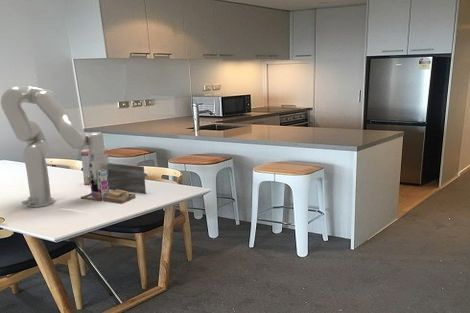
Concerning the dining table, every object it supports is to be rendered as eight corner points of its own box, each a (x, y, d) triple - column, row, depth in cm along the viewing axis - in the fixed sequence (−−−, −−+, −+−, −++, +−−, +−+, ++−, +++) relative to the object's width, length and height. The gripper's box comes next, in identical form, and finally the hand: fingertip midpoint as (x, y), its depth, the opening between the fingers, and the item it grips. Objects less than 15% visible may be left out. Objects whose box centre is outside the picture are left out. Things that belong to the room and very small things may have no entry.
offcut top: (118, 198, 203) (117, 194, 203) (107, 196, 207) (107, 192, 207) (127, 195, 208) (126, 191, 208) (116, 192, 212) (116, 189, 212)
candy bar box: (110, 200, 211) (107, 169, 208) (101, 202, 208) (98, 171, 204) (100, 195, 219) (97, 166, 215) (91, 197, 215) (88, 167, 212)
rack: (121, 206, 200) (118, 175, 197) (81, 200, 211) (77, 171, 208) (145, 195, 218) (143, 166, 214) (107, 190, 228) (105, 162, 225)
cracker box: (110, 182, 246) (107, 148, 241) (106, 185, 240) (103, 150, 236) (88, 182, 247) (85, 148, 243) (83, 184, 241) (80, 150, 237)
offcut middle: (119, 202, 203) (119, 198, 203) (106, 200, 207) (106, 196, 207) (129, 198, 209) (128, 194, 209) (116, 196, 213) (115, 192, 213)
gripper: (90, 160, 199) (93, 195, 203) (114, 153, 215) (116, 186, 218) (78, 159, 202) (82, 193, 206) (103, 152, 218) (105, 184, 221)
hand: (99, 189), depth 212 cm, fingers closed on candy bar box, 6 cm apart
